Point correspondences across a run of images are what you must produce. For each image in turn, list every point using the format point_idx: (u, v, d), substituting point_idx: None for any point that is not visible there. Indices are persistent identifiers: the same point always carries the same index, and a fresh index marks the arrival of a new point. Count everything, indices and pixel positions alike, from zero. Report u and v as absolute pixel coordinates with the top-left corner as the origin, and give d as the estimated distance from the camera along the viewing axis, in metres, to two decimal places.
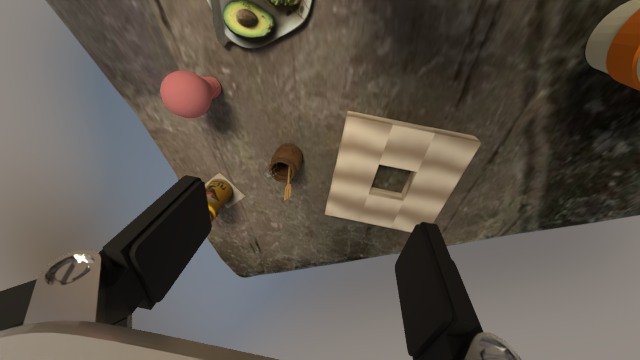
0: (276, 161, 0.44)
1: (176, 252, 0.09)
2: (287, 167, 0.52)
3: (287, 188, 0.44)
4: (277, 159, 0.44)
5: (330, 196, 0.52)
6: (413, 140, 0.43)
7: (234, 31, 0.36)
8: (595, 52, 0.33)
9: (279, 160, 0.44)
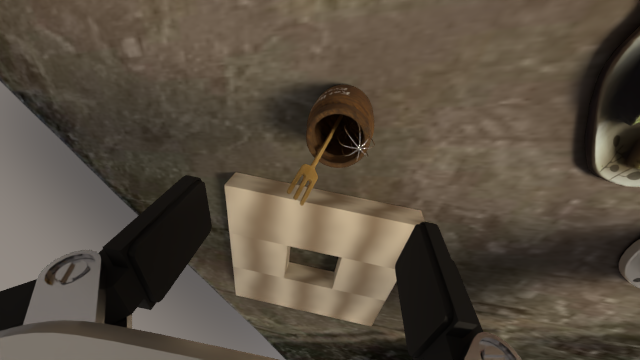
0: (366, 131, 0.18)
1: (176, 252, 0.09)
2: None
3: (308, 175, 0.17)
4: (369, 131, 0.18)
5: (269, 196, 0.28)
6: (377, 286, 0.34)
7: None
8: None
9: (368, 138, 0.18)
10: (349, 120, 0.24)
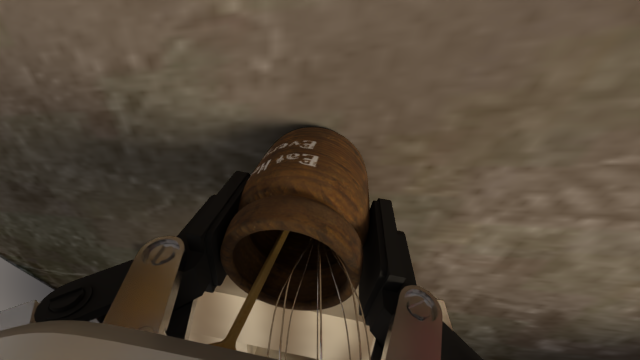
0: (353, 264, 0.08)
1: None
2: None
3: None
4: (359, 257, 0.08)
5: (208, 292, 0.18)
6: None
7: None
8: None
9: (358, 274, 0.08)
10: None
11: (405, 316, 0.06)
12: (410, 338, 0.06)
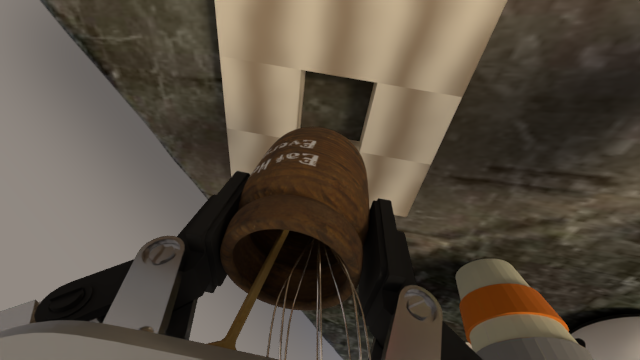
0: (353, 264, 0.08)
1: None
2: None
3: None
4: (359, 257, 0.08)
5: None
6: (422, 136, 0.25)
7: None
8: (487, 269, 0.36)
9: (358, 273, 0.08)
10: None
11: (405, 316, 0.06)
12: (410, 338, 0.06)
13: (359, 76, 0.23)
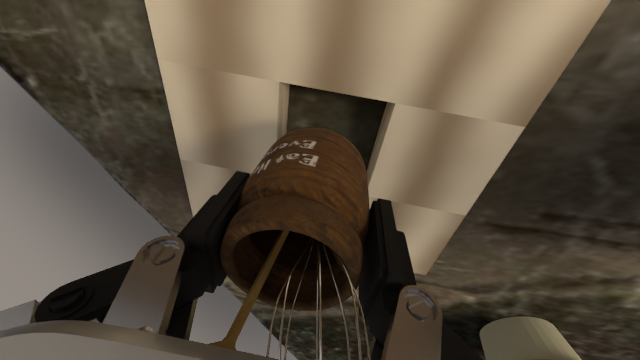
0: (353, 264, 0.08)
1: None
2: None
3: None
4: (359, 257, 0.08)
5: None
6: (457, 179, 0.17)
7: None
8: (524, 334, 0.28)
9: (358, 274, 0.08)
10: None
11: (405, 316, 0.06)
12: (410, 338, 0.06)
13: (367, 93, 0.15)
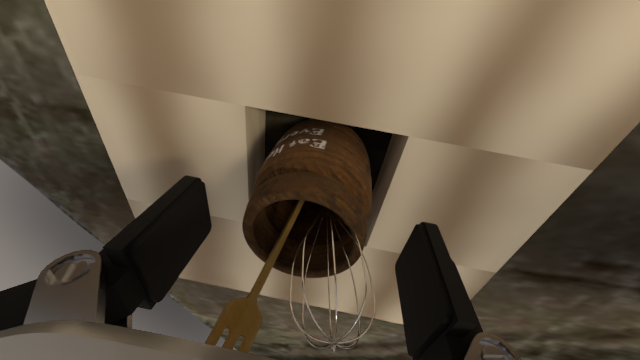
0: (358, 230, 0.09)
1: (176, 252, 0.09)
2: None
3: (238, 328, 0.08)
4: (364, 226, 0.09)
5: None
6: (489, 232, 0.13)
7: None
8: None
9: (362, 240, 0.09)
10: None
11: None
12: None
13: (369, 122, 0.10)
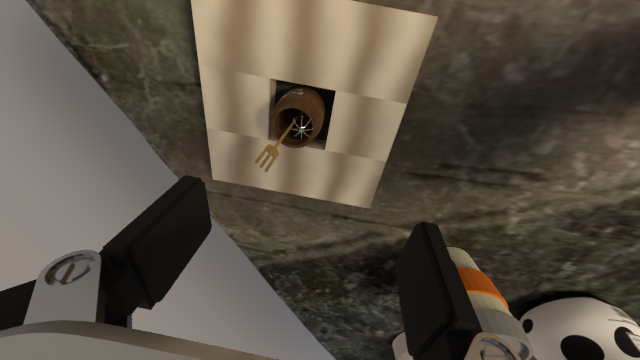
0: (313, 120, 0.25)
1: (176, 252, 0.09)
2: None
3: (271, 152, 0.24)
4: (316, 120, 0.25)
5: None
6: (377, 137, 0.29)
7: None
8: None
9: (315, 126, 0.25)
10: None
11: None
12: None
13: (320, 85, 0.26)
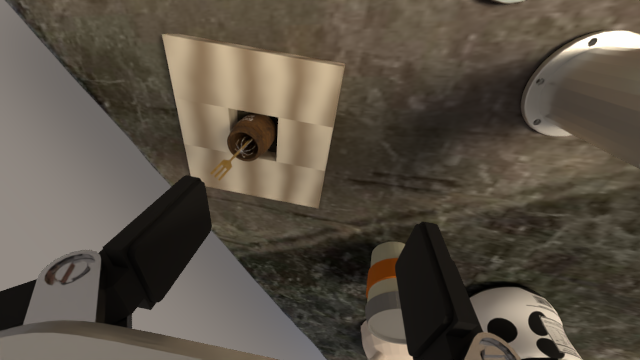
0: (257, 141, 0.33)
1: (176, 252, 0.09)
2: None
3: (225, 165, 0.32)
4: (260, 141, 0.33)
5: (203, 44, 0.30)
6: (314, 152, 0.37)
7: None
8: (387, 249, 0.48)
9: (260, 145, 0.33)
10: None
11: None
12: None
13: (266, 113, 0.34)
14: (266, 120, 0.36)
